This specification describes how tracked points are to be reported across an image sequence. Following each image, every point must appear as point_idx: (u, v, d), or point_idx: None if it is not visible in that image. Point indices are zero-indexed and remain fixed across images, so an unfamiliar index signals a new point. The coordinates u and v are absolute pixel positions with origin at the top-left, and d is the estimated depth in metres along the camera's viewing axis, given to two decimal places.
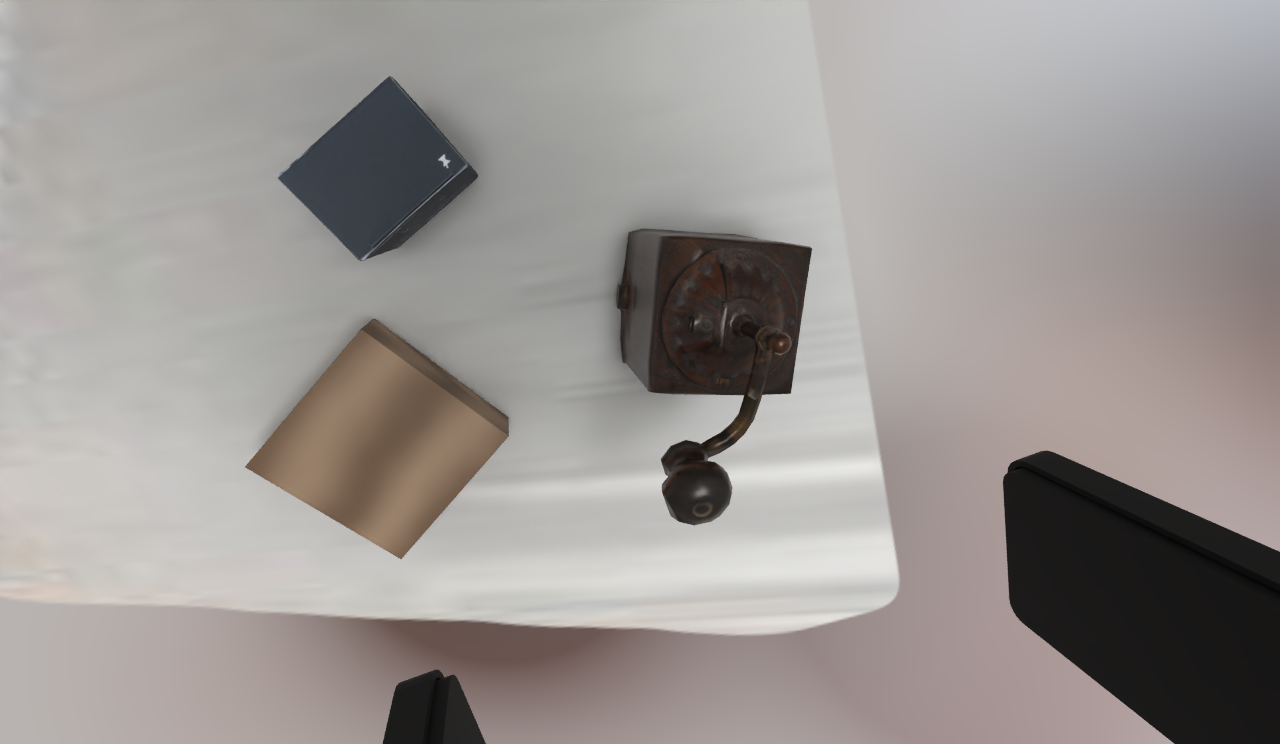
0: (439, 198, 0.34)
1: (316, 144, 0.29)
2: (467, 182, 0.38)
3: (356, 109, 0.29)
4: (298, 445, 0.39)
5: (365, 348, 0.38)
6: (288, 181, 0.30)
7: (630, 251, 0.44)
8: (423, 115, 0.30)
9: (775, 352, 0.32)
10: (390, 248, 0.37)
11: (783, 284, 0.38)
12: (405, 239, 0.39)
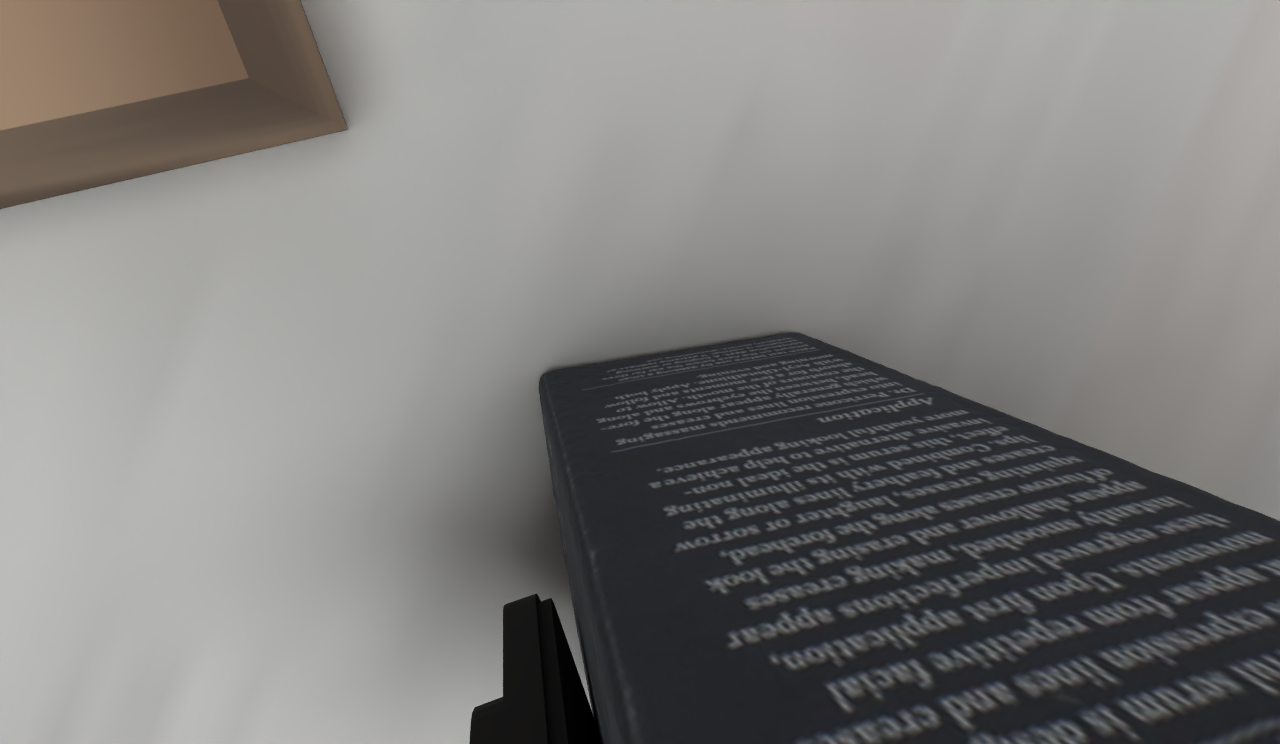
0: None
1: None
2: None
3: None
4: None
5: (104, 0, 0.06)
6: None
7: None
8: None
9: None
10: (558, 479, 0.08)
11: None
12: (551, 464, 0.10)
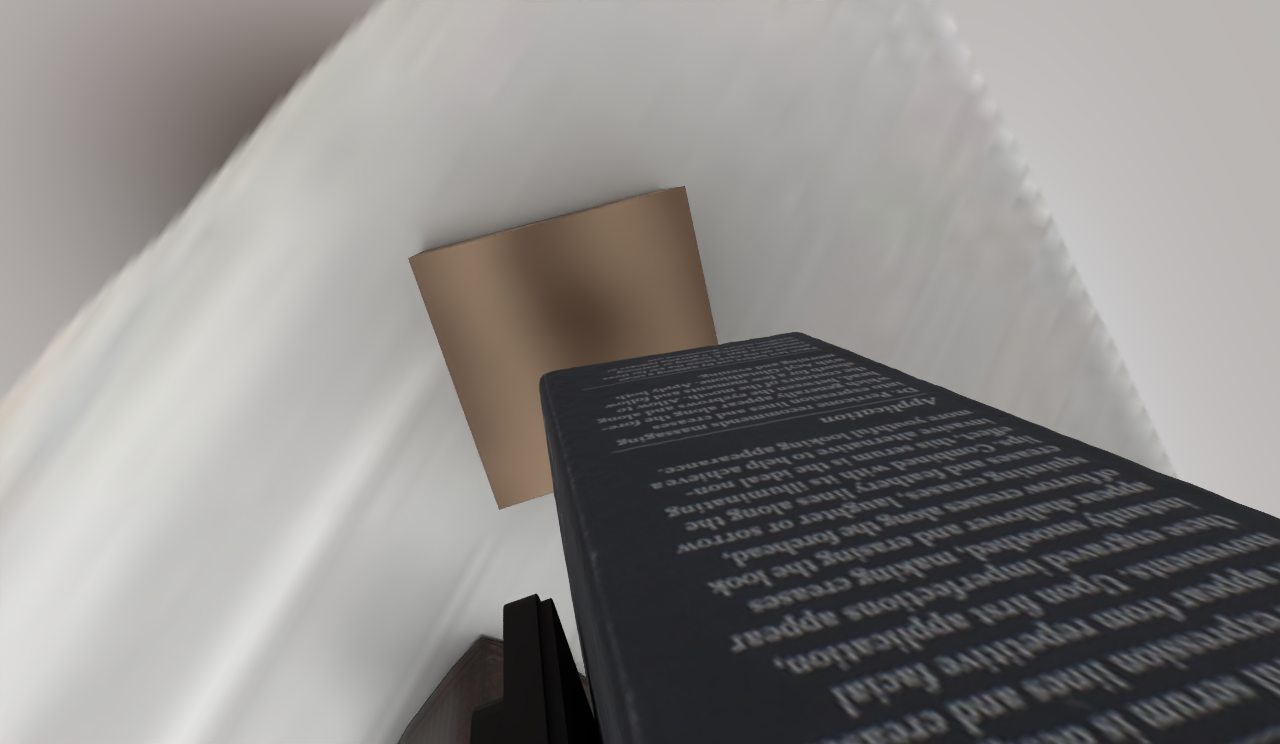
0: None
1: None
2: None
3: None
4: (664, 267, 0.26)
5: None
6: None
7: None
8: None
9: None
10: (558, 479, 0.08)
11: None
12: (551, 464, 0.10)
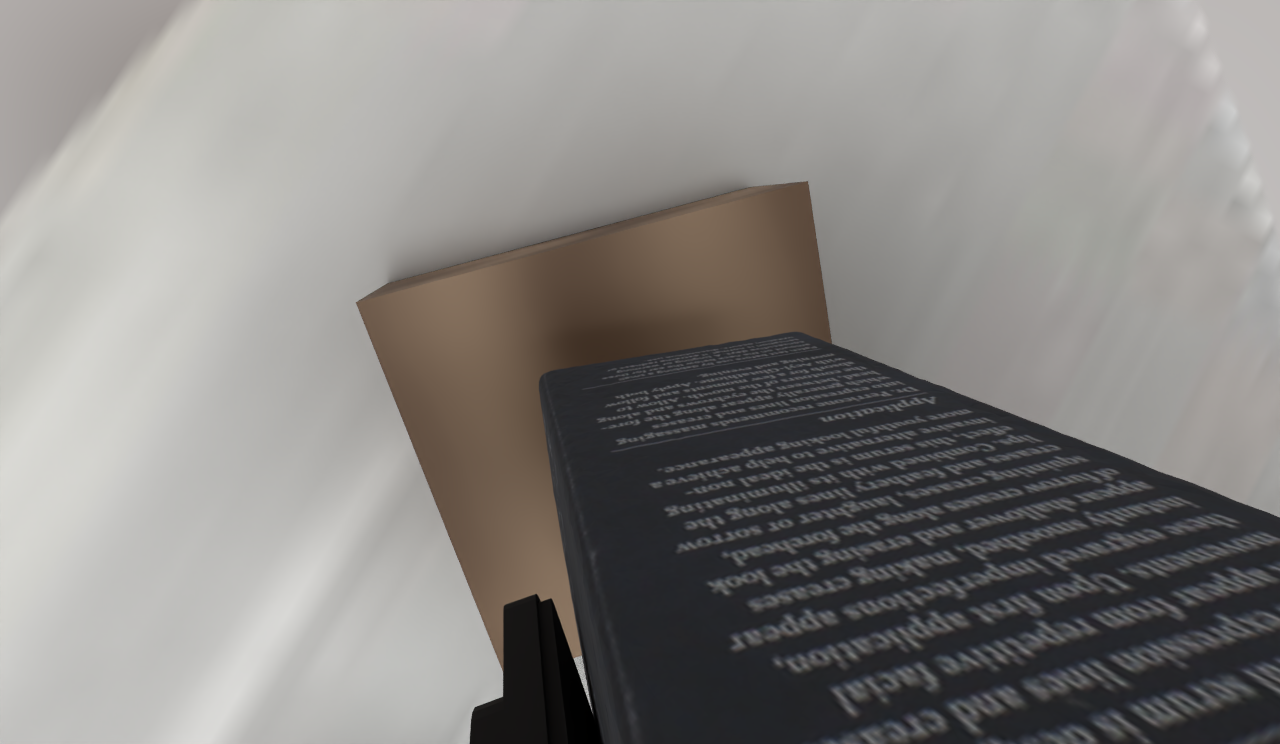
0: None
1: None
2: None
3: None
4: (770, 310, 0.17)
5: None
6: None
7: None
8: None
9: None
10: (558, 479, 0.08)
11: None
12: (551, 464, 0.10)
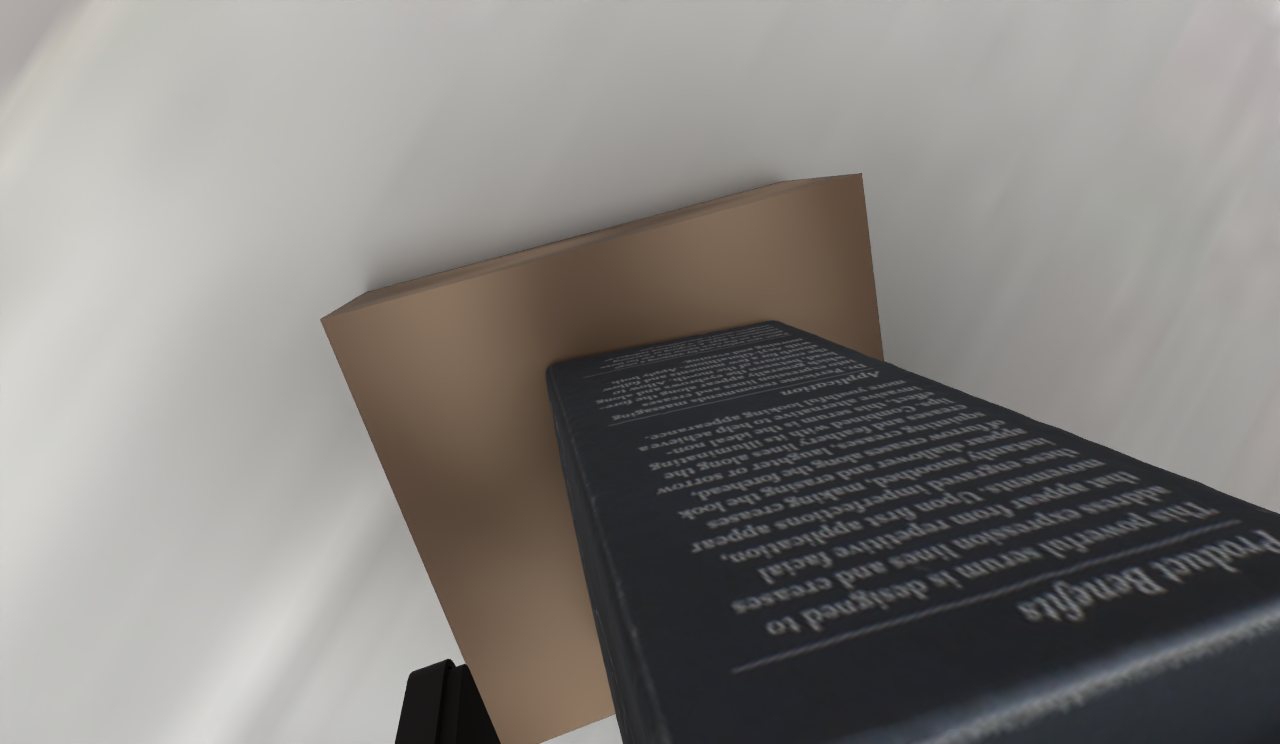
0: None
1: None
2: (616, 715, 0.12)
3: None
4: (814, 325, 0.14)
5: None
6: None
7: None
8: None
9: None
10: (565, 451, 0.09)
11: None
12: (558, 443, 0.12)
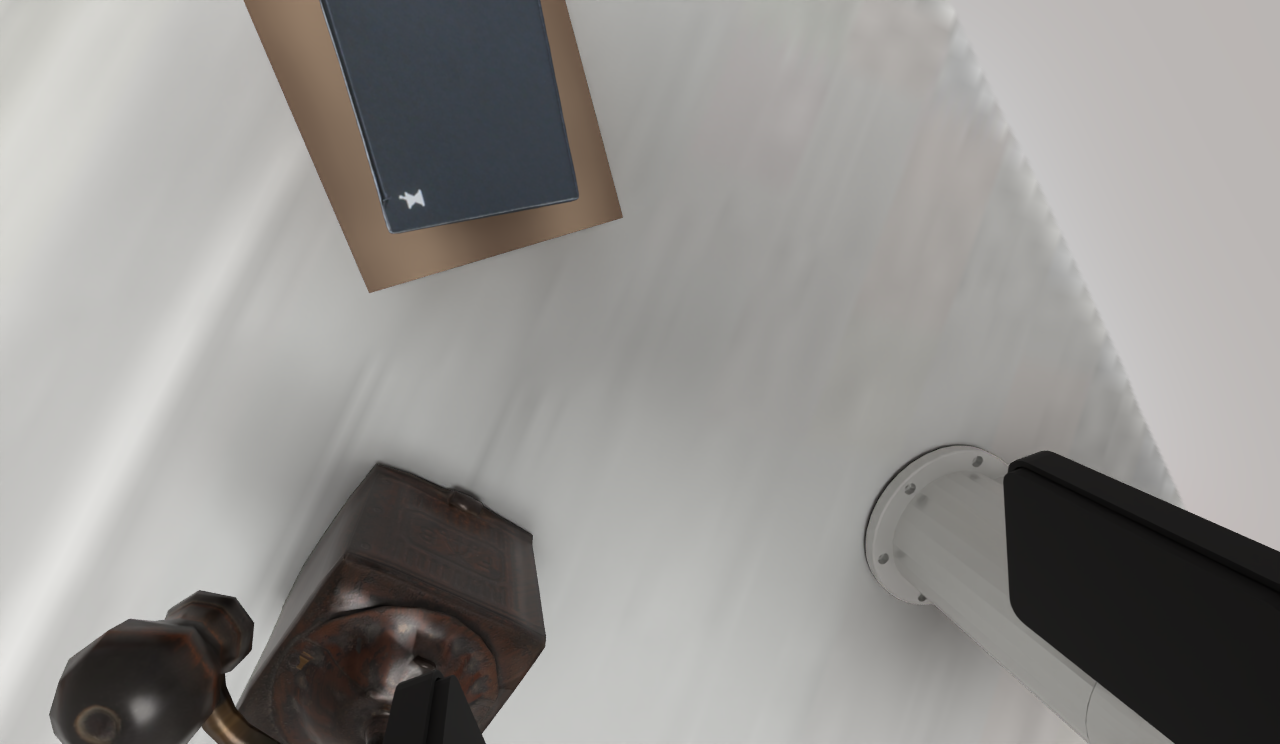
0: None
1: (537, 5, 0.16)
2: None
3: (557, 112, 0.17)
4: None
5: (599, 204, 0.28)
6: None
7: (512, 533, 0.35)
8: (500, 211, 0.17)
9: None
10: None
11: None
12: None
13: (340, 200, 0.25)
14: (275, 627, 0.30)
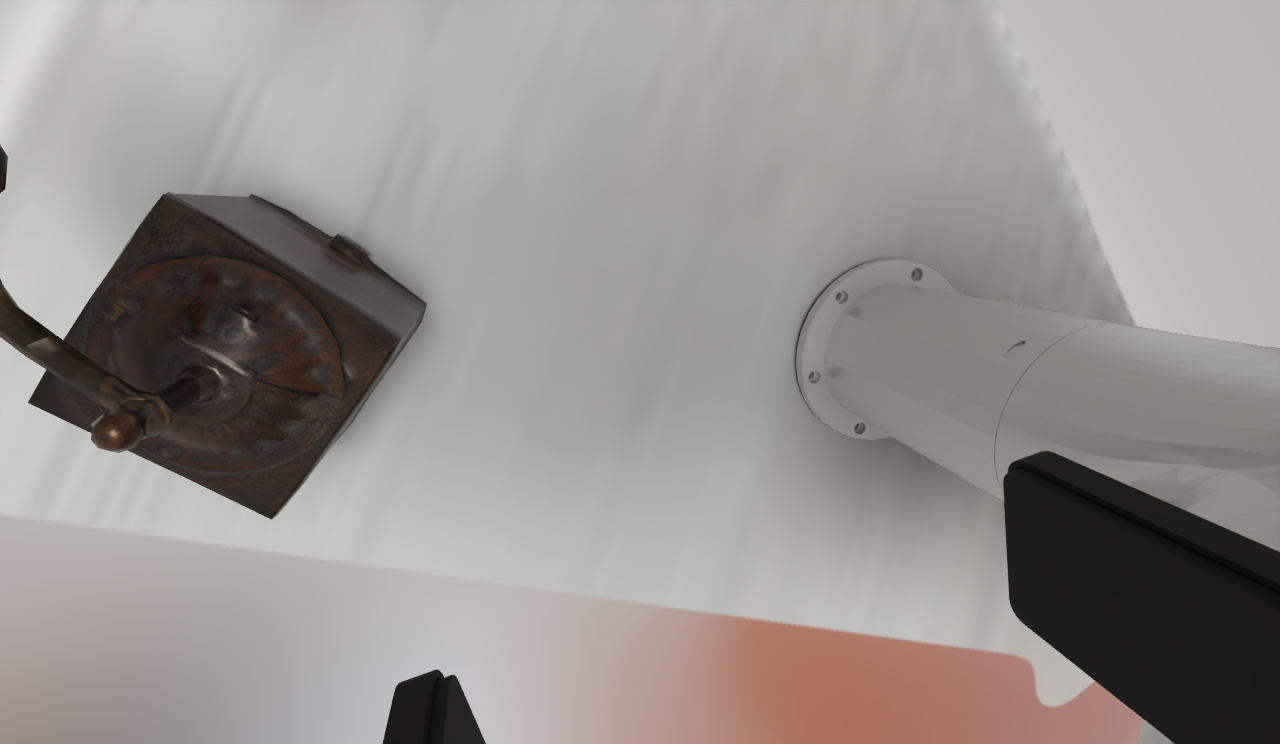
0: None
1: None
2: None
3: None
4: None
5: None
6: None
7: (401, 292, 0.33)
8: None
9: (101, 418, 0.17)
10: None
11: (237, 464, 0.25)
12: None
13: None
14: None
